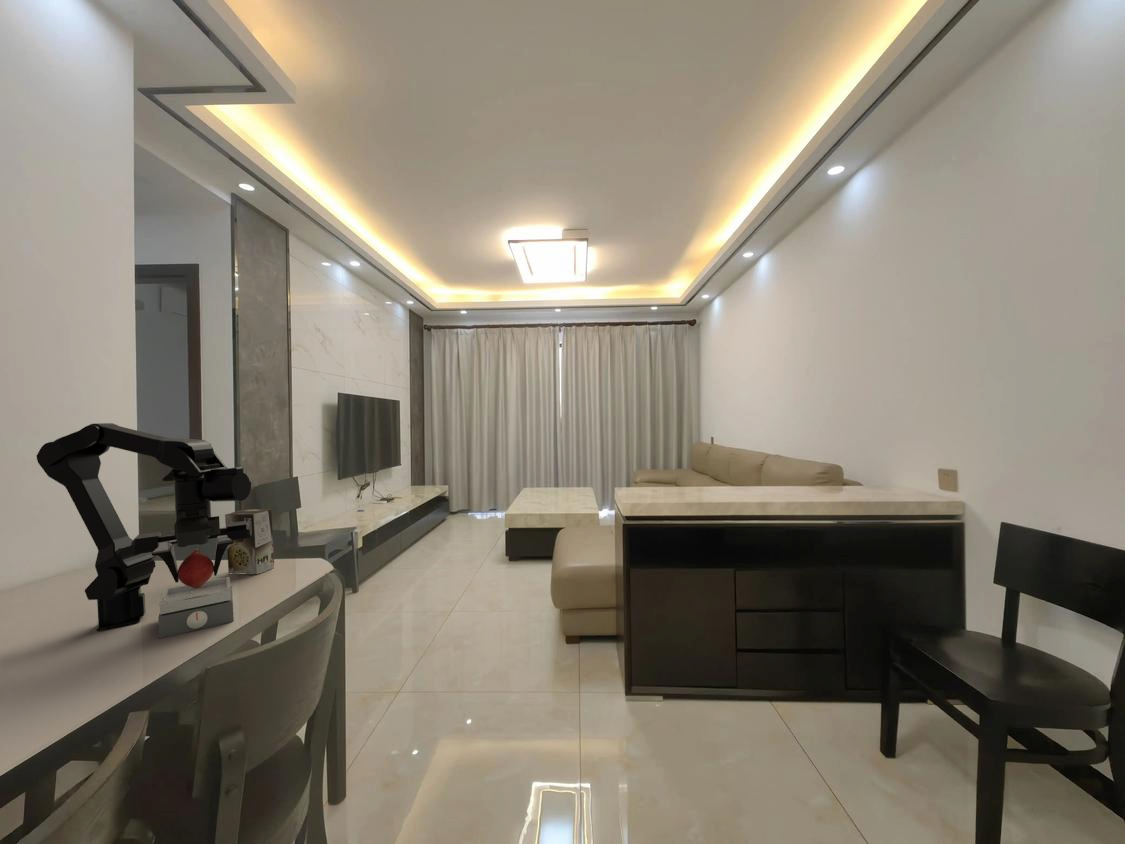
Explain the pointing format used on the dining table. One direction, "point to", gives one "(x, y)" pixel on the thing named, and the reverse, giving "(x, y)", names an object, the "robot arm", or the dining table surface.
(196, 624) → the scale base
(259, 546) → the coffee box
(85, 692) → the dining table surface
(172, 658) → the dining table surface
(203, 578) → the onion
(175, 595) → the scale pan
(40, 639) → the dining table surface
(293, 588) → the dining table surface
